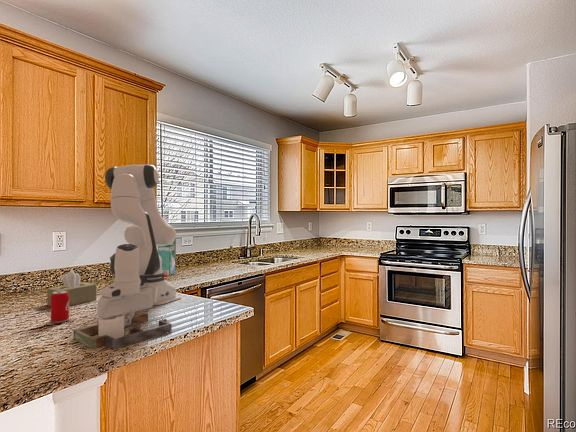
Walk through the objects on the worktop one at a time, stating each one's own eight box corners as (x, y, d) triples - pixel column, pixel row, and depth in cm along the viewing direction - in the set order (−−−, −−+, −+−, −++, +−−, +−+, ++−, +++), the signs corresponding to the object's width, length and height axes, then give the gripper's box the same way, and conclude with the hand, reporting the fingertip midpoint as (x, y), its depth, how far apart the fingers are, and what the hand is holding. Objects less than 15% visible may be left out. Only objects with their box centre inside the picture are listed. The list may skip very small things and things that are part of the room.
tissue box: (85, 297, 182) (86, 267, 182) (97, 300, 178) (97, 268, 177) (46, 305, 166) (46, 272, 166) (57, 308, 161) (57, 274, 161)
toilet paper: (114, 329, 134) (114, 311, 134) (127, 337, 126) (128, 318, 126) (91, 335, 128) (91, 316, 128) (103, 343, 120) (104, 323, 120)
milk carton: (163, 272, 257) (164, 238, 256) (175, 273, 255) (175, 238, 255) (157, 274, 248) (157, 239, 247) (169, 275, 246) (170, 239, 246)
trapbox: (146, 319, 146) (146, 312, 146) (176, 330, 134) (176, 322, 134) (73, 338, 124) (73, 330, 124) (101, 353, 112) (101, 343, 112)
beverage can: (72, 319, 146) (72, 290, 146) (63, 323, 140) (63, 293, 140) (56, 318, 146) (57, 290, 146) (47, 323, 140) (47, 293, 139)
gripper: (147, 282, 142) (147, 316, 142) (95, 291, 125) (94, 329, 126) (156, 284, 138) (156, 319, 138) (104, 294, 122) (103, 333, 122)
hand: (126, 324), depth 132 cm, fingers closed
